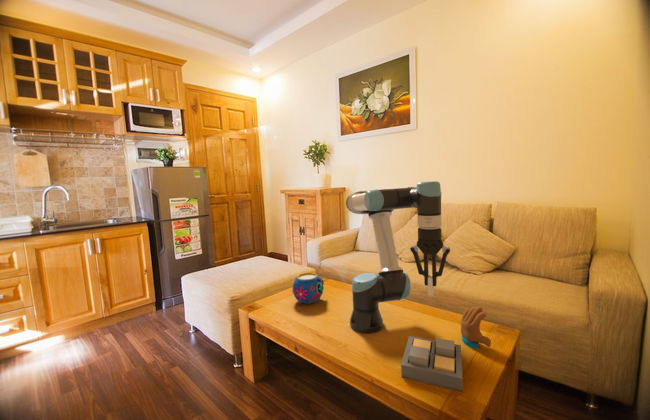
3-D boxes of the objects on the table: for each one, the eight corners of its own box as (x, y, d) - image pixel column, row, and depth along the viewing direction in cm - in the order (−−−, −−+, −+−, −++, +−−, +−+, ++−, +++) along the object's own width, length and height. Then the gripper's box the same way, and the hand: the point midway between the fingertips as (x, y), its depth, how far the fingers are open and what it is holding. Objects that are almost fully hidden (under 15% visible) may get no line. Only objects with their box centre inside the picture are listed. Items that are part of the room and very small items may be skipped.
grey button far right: (435, 357, 98) (435, 346, 97) (436, 347, 103) (436, 337, 103) (454, 361, 95) (454, 350, 95) (454, 351, 100) (454, 340, 100)
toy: (492, 352, 103) (492, 314, 102) (475, 354, 103) (475, 316, 101) (472, 334, 115) (472, 300, 114) (456, 336, 115) (456, 301, 113)
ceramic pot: (324, 307, 148) (322, 280, 146) (291, 309, 148) (289, 282, 146) (324, 294, 165) (323, 270, 163) (295, 295, 165) (293, 271, 164)
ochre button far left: (412, 357, 101) (412, 347, 101) (414, 348, 107) (414, 338, 106) (429, 361, 99) (429, 350, 98) (431, 351, 104) (430, 341, 104)
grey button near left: (409, 366, 94) (408, 355, 93) (411, 355, 99) (411, 345, 99) (427, 370, 91) (427, 359, 91) (429, 359, 97) (429, 348, 96)
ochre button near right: (434, 377, 91) (434, 365, 90) (435, 365, 96) (435, 355, 96) (454, 382, 88) (454, 370, 88) (454, 370, 93) (454, 359, 93)
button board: (401, 377, 93) (401, 364, 93) (409, 346, 110) (409, 335, 109) (462, 392, 85) (462, 378, 85) (461, 356, 102) (461, 345, 101)
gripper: (407, 228, 92) (409, 296, 94) (450, 229, 87) (451, 301, 89) (410, 225, 99) (412, 288, 101) (450, 225, 93) (451, 292, 96)
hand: (430, 294), depth 95 cm, fingers closed
